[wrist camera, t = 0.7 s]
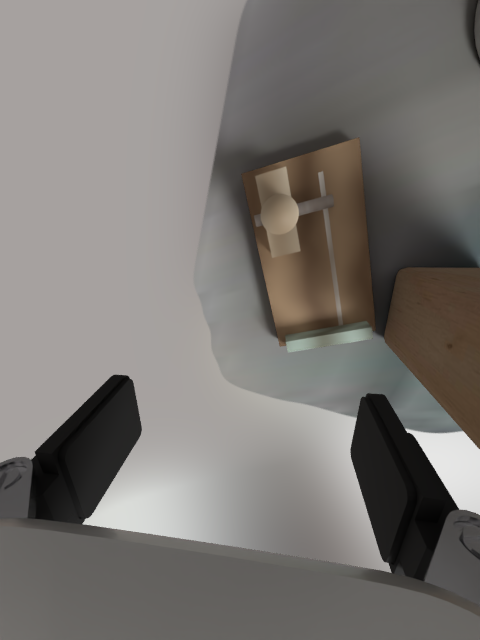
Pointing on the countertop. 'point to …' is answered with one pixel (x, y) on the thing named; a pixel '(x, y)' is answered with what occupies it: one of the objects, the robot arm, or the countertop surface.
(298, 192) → the walnut board
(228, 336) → the countertop surface
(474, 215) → the countertop surface
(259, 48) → the countertop surface
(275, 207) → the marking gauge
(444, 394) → the wooden block
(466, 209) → the countertop surface
